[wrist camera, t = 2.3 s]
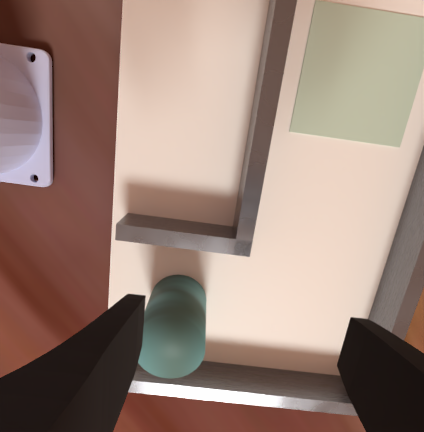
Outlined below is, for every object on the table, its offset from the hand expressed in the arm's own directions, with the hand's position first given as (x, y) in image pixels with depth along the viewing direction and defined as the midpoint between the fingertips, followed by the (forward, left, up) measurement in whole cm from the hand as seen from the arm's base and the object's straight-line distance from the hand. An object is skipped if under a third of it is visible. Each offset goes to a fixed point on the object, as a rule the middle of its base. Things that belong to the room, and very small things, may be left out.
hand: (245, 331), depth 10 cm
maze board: (+2, +2, -10) cm, 11 cm away
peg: (-3, -5, -10) cm, 12 cm away
